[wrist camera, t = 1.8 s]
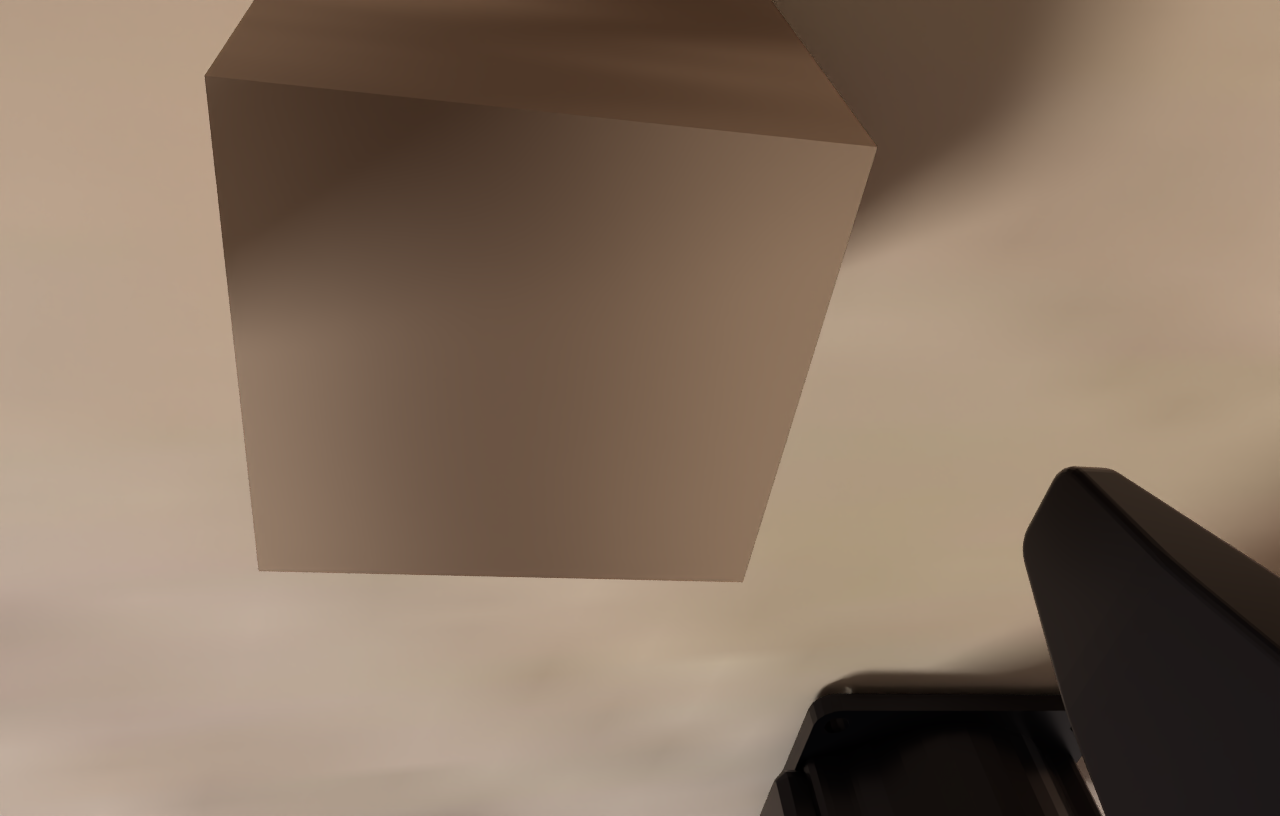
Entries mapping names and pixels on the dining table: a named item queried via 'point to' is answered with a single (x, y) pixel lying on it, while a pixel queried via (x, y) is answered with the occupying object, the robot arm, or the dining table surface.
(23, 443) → the dining table surface
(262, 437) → the walnut cube
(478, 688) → the dining table surface
